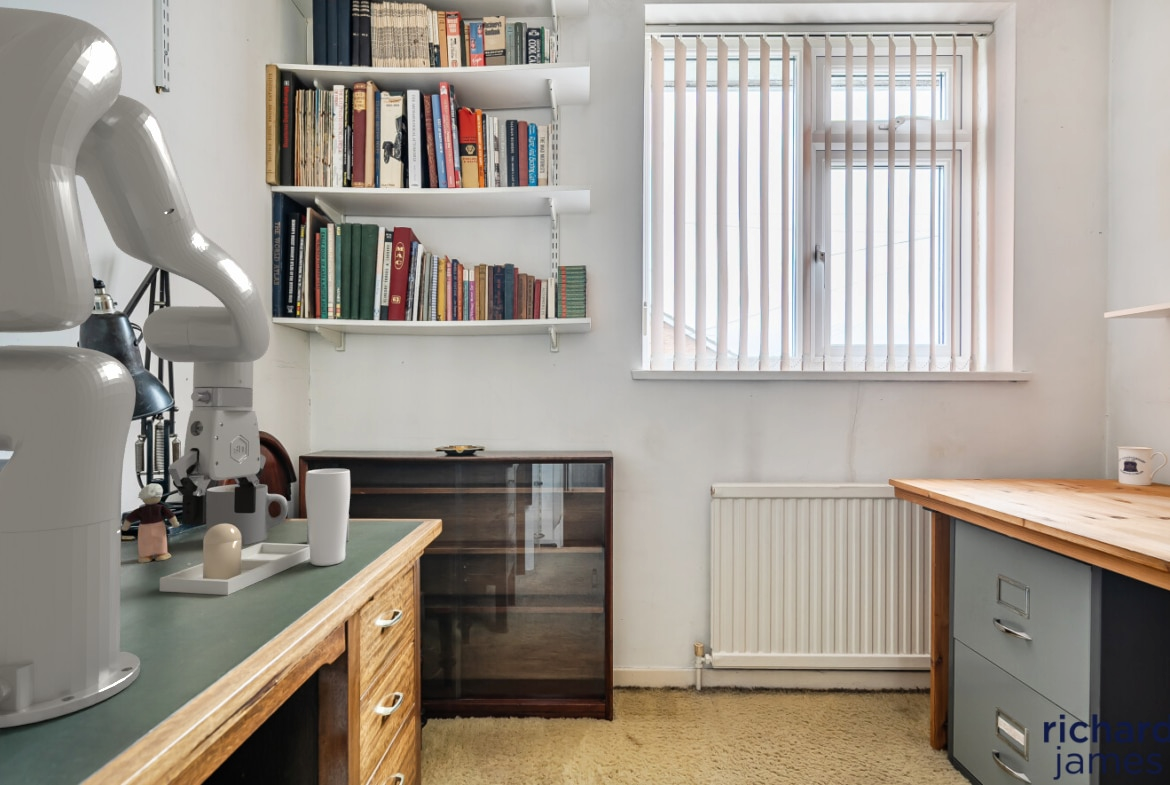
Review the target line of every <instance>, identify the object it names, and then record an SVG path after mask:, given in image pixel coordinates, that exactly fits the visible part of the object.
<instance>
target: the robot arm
mask: <svg viewBox="0 0 1170 785" xmlns="http://www.w3.org/2000/svg"><path fill="white" fill-rule="evenodd" d="M122 68H123V67H122V62H121V58H120V55H119V53H118V50H117V48H116V46H115V44H114V43H113V41H112V40H111V39H110V38H109V36H108V35H107V34H106V33H105V32H104V31H103V30H101V29H100V28H98V27H97V26H95V25H93V24H91V23H90V22H88V21H86V20H83V19H79V18H77V17H74V16H70V15H67V14H62V13H57V12H50V11H43V10H37V9H36V10H35V9H27V8H17V7H16V8H14V7H5V6H3V7H2V6H0V333H7V334H8V333H9V334H10V333H11V334H13V333H15V334H17V333H21V334H22V333H23V334H24V333H26V334H27V333H48V332H60V331H65V330H71V329H73V328H77V327H78V326H80V325H83V324H84V323H86V321H87V320H88V319H89V318H90V317H91V316H92V313H93V311H94V307H95V296H96V295H95V293H96V292H95V284H94V277H93V272H92V266H91V261H90V260H91V259H90V255H89V248H88V244H87V238H86V235H85V234H86V232H85V228H84V223H83V218H82V214H81V213H82V212H81V207H80V202H79V197H78V189H77V182H76V179H77V178H76V176H79V177H81V178H82V179H84V181H85V183H86V185H87V187H88V189H89V191H90V193H91V195H92V198H93V199H94V201H95V203H96V204H95V205H96V206H97V209H98V210H99V212H100V214H101V216H102V218H103V221H104V223H105V225H106V227H107V229H108V231H109V233H110V236H111V238H112V241H113V242H114V244H115V245H116V247H117V248H118V249H119V250H120V251H121V252H122V253H124V254H126V255H128V256H129V257H132V258H134V259H136V260H139V261H140V262H143V263H146V264H147V265H150V266H152V267H155V268H158V269H160V270H162V271H165V272H168V273H171V274H173V275H175V276H178V277H181V278H183V279H185V280H188V281H191V282H192V283H195V284H196V285H198V286H200V287H202V288H203V289H204V290H207V291H208V292H209V293H211V294H212V295H213V296H214V297H216V298H217V299H218V300H219V301H220V302H221V303H222V304H223V306H203V305H201V306H199V305H198V306H192V305H190V306H185V305H184V306H182V305H181V306H178V305H175V306H173V305H172V306H165V307H161V308H158V309H156V310H154V311H153V312H151V313H150V314H149V315H147V317H146V319H145V320H144V323H143V325H142V336H143V337H142V338H143V340H144V344H145V345H146V347H147V348H148V350H149V351H150V352H151V353H152V354H154V355H155V356H157V357H158V358H159V359H163V360H165V361H168V362H173V363H193V368H192V370H193V371H192V372H193V373H192V375H193V376H192V394H191V395H190V398H191V401H192V410H190V413H189V417H188V421H187V426H186V433H185V439H184V450H183V455H182V456H181V457H179V458H178V459H176V460H175V461H174V462H172V463H171V464H170V465H169V466H168V472H169V475H170V477H171V479H172V483H173V484H172V485H173V486H174V487H175V488H176V489H177V492H178V493H177V494H178V495H179V496H181V497H182V501H181V502H182V506H181V507H182V508H181V523H182V525H185V526H203V525H206V501H207V494H204V495H203V493H204V492H205V490H207V487H208V485H209V484H210V482H211V480H213V481H225V480H233V479H234V481H235V482H236V484H238V485H239V486H240V487H235V498H234V512H235V513H255V511H256V487H257V486H258V485H259V484H260V478H261V477H262V475H263V473H264V470H263V469H264V466H265V465H266V462H267V457H266V456H265V455H264V454H262V453H261V445H260V444H261V443H260V441H261V440H260V431H259V430H260V429H259V423H258V418H257V414H256V411H255V410H253V403H254V402H253V400H254V392H253V391H254V386H253V385H254V362H255V361H257V360H260V359H261V358H263V356H265V354H266V352H267V351H268V348H269V346H270V341H271V340H270V337H271V336H270V327H269V323H268V319H267V315H266V312H265V308H264V305H263V301H262V300H261V295H260V293H259V290H258V288H257V286H256V283H255V282H254V279H252V276H250V274H249V273H248V272H247V270H245V269H244V268H243V266H242V265H241V264H240V263H239V262H238V261H237V260H236V259H234V258H233V257H232V256H231V254H229V253H228V252H227V251H225V249H223V248H222V247H221V246H219V245H218V244H217V243H216V242H214V241H213V240H212V239H210V238H209V237H208V236H206V235H205V234H203V232H201V231H200V229H199V228H198V226H197V223H196V221H195V218H194V215H193V213H192V209H191V207H190V204H189V201H188V199H187V196H186V191H185V190H184V187H183V184H182V181H181V179H180V176H179V173H178V170H177V168H176V165H175V163H174V159H173V157H172V154H171V152H170V148H169V145H168V143H167V141H166V137H165V135H164V132H163V130H162V127H161V125H160V122H159V121H158V119H157V117H156V116H155V114H154V112H152V111H151V109H149V107H147V106H146V105H145V104H143V102H140V101H139V100H137V99H134V98H132V97H129V96H126V95H123V94H120V91H121V88H122V79H123V73H122ZM136 395H137V393H136V384H135V380H134V379H133V376H132V373H131V372H130V371H129V369H128V368H127V367H126V366H125V364H123V363H122V362H121V361H120V360H118V359H117V358H115V357H114V356H111V355H109V354H108V353H105V352H102V351H99V350H95V349H90V348H85V347H81V346H80V347H79V346H68V345H65V346H63V345H24V344H23V345H22V344H21V345H19V344H17V345H13V344H10V345H0V451H1V452H4V451H5V452H12V455H11V456H10V458H9V459H8V461H7V462H6V464H5V465H4V466H3V467H2V468H1V470H0V729H2V728H3V729H4V728H11V727H19V726H23V725H28V724H33V723H34V724H35V723H39V722H43V721H47V720H51V719H55V718H58V717H61V716H64V715H65V716H66V715H67V714H72V713H74V712H78V711H80V710H82V709H85V708H89V707H91V706H93V705H95V704H98V703H101V702H102V701H105V700H107V699H109V698H110V697H113V696H115V695H117V694H118V693H120V692H122V691H124V689H126V688H127V687H129V686H130V684H132V683H133V682H134V681H135V680H137V678H138V676H140V673H141V672H140V671H141V660H140V657H138V656H137V655H136V654H134V653H131V652H129V651H122V650H121V579H122V578H121V577H122V576H121V572H122V570H121V569H122V568H121V567H122V565H121V564H122V562H121V560H122V558H121V556H122V537H121V536H122V529H121V527H122V489H123V488H122V485H123V484H122V481H123V467H124V459H125V452H126V445H127V441H128V436H129V432H130V428H131V423H132V420H133V415H134V412H135V407H136V406H135V405H136ZM196 482H197V483H196Z"/></svg>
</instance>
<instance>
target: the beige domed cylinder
mask: <svg viewBox="0 0 1170 785" xmlns="http://www.w3.org/2000/svg"><path fill="white" fill-rule="evenodd" d="M202 542H203V543H202V548H203V549H202V563H203V579H223V580H228V579H230V578H233V577H235V576H238V575H240V574H241V550H242V546H241V543H242V538H241V533H240V531H239V529H238V528H237V527H235V526H234V525H231V524H227V523H223V524H218V525H215V526H213V527H212V528H210V529H209V530H208V531H207V533H205V534H204V537H203V540H202Z"/></svg>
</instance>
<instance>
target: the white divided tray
mask: <svg viewBox="0 0 1170 785" xmlns="http://www.w3.org/2000/svg"><path fill="white" fill-rule="evenodd" d="M308 560H310V545H309V544H307V543H306V544H303V543H300V544H299V543H276V542H258V543H255V544H252V545H250V546H248V547H244V548H241V574H240V575H238V576H235V577H233V578H230V579H228V580H223V579H203V562H202V563H200V564H196V565H193V566H191V567H188V568H184V569H181V570H179V571H177V572H174V573H171V574H168V575H165V576H161V577H160V578H159V592H168V593H170V592H171V593H187V594H203V595H221V596H229V595H231V594H234V593H235V592H238V591H241V590H243V589H245V588H247V587H249V586H252V585H254V584H256V583H258V582H260V581H263V580H265V579H267V578H270V577H272V576H274V575H277V574H279V573H281V572H283V571H286V570H288V569H290V568H292V567H294V566H297V565H299V564H301V563H303V562H306V561H308Z"/></svg>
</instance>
